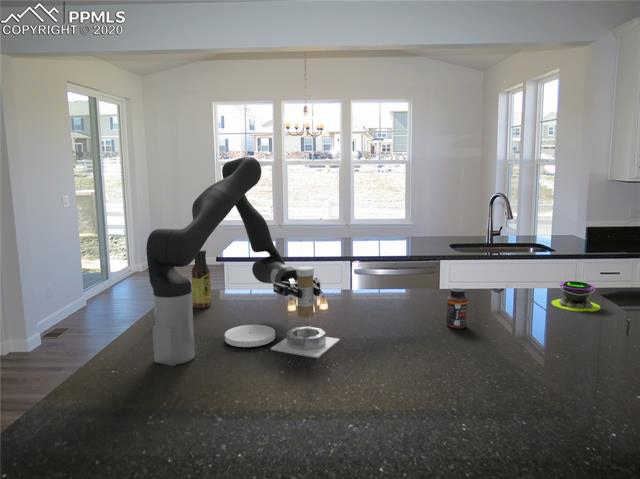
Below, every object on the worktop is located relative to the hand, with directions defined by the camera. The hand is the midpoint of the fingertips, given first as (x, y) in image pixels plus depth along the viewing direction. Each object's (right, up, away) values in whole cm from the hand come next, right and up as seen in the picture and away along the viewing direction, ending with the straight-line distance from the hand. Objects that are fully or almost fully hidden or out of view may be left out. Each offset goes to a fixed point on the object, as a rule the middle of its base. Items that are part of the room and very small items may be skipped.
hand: (309, 293), depth 131 cm
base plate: (-1, -15, +5) cm, 15 cm away
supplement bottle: (+44, -12, +19) cm, 50 cm away
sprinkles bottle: (-1, -7, +4) cm, 8 cm away
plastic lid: (-17, -15, +9) cm, 24 cm away
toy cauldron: (+91, -9, +40) cm, 100 cm away
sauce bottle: (-38, -9, +42) cm, 58 cm away
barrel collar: (-1, -15, +5) cm, 15 cm away
